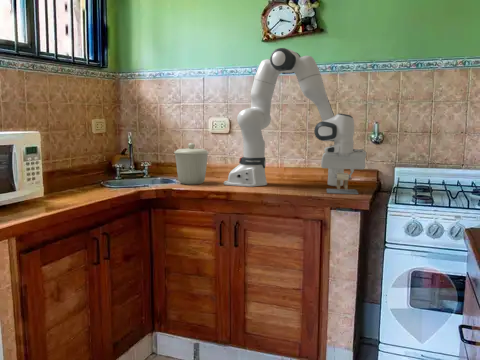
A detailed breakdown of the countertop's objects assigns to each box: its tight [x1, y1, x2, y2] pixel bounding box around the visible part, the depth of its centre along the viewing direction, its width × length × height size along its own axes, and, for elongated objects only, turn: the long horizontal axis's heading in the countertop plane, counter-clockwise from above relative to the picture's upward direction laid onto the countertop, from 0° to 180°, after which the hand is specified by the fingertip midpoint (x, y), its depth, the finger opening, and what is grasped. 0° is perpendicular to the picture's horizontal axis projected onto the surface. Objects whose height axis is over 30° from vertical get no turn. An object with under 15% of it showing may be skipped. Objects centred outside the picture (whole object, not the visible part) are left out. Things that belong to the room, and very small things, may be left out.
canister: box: [173, 142, 210, 186], centre depth 238 cm, size 18×18×21 cm
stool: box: [336, 172, 350, 190], centre depth 216 cm, size 8×5×7 cm, turn 171°
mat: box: [326, 188, 359, 195], centre depth 216 cm, size 14×12×1 cm
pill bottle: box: [327, 168, 345, 187], centre depth 237 cm, size 8×8×15 cm
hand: (342, 178), depth 216 cm, fingers closed on stool, 5 cm apart
